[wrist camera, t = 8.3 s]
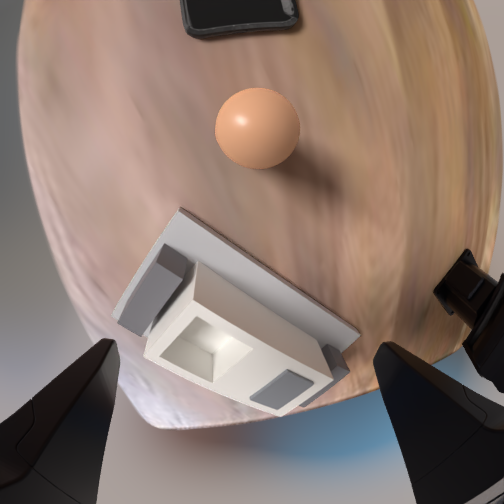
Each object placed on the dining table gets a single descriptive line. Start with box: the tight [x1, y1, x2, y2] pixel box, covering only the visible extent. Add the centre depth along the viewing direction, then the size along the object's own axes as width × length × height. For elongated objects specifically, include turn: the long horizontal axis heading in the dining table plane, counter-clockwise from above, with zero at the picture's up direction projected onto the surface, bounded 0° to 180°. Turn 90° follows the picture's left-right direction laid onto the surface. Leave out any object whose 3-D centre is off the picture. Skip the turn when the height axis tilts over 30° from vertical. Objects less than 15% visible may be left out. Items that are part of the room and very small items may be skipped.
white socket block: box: [143, 261, 334, 417], centre depth 20 cm, size 13×6×5 cm, turn 49°
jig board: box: [111, 207, 361, 407], centre depth 22 cm, size 20×11×4 cm, turn 51°
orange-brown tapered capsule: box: [215, 88, 300, 169], centre depth 13 cm, size 3×3×9 cm
